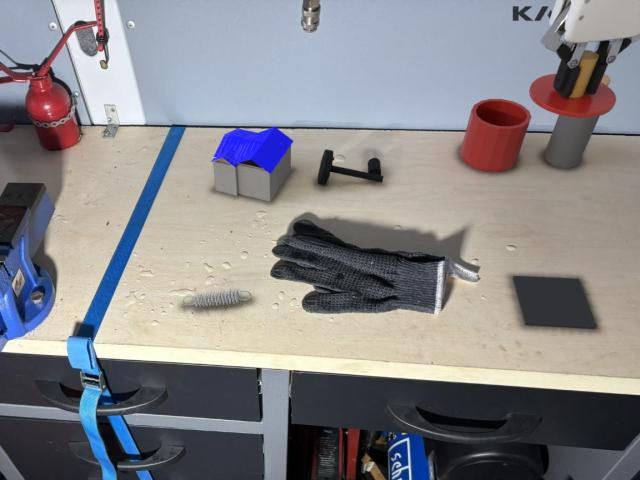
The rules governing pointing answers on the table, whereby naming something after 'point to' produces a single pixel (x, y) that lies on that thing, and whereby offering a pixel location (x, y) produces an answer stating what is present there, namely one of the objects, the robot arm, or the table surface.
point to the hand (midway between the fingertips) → (573, 89)
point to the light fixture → (327, 167)
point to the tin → (495, 134)
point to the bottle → (570, 138)
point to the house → (252, 162)
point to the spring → (217, 298)
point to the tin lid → (574, 93)
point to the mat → (553, 302)
